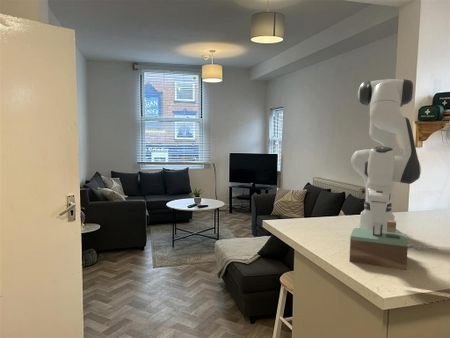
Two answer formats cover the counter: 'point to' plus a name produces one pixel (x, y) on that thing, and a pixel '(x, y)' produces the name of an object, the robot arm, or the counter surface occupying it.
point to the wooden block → (391, 226)
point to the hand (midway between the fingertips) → (377, 231)
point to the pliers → (419, 247)
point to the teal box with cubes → (379, 236)
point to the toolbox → (378, 254)
